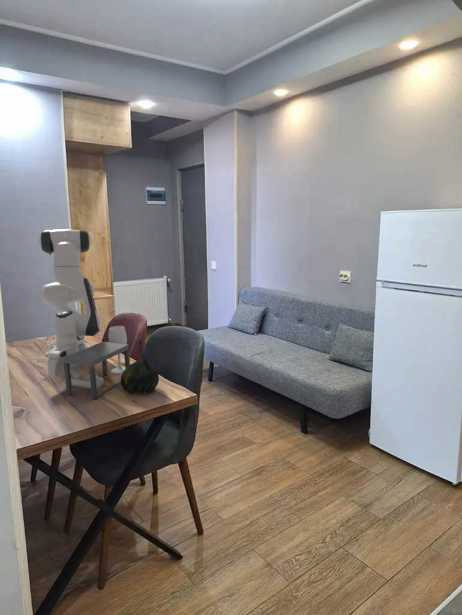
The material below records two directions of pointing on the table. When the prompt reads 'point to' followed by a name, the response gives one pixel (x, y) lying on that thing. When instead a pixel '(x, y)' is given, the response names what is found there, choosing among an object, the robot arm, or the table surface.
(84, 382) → the tray
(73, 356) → the side table
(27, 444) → the table surface
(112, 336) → the wineglass
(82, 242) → the robot arm
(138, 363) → the squash
